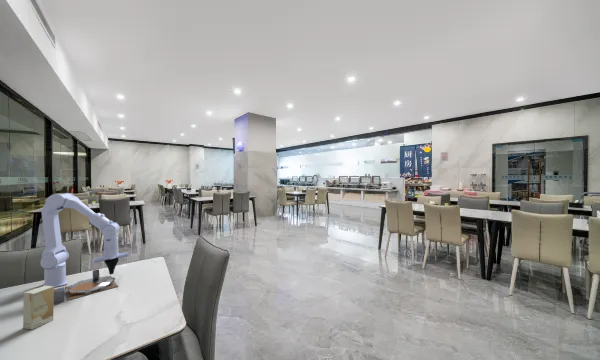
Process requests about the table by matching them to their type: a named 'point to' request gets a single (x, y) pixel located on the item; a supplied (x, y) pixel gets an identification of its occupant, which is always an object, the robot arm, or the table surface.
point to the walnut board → (89, 293)
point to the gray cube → (59, 295)
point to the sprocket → (90, 284)
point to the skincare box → (38, 307)
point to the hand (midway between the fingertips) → (111, 273)
